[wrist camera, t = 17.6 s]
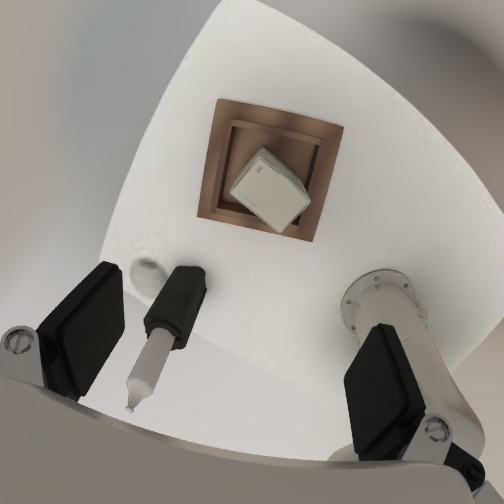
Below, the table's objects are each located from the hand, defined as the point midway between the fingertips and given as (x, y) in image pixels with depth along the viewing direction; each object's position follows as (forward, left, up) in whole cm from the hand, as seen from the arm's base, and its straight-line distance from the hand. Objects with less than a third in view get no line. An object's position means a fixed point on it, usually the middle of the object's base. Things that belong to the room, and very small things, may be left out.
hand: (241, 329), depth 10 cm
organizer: (0, 0, -30) cm, 30 cm away
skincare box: (0, 0, -30) cm, 30 cm away
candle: (+8, +19, -31) cm, 37 cm away
